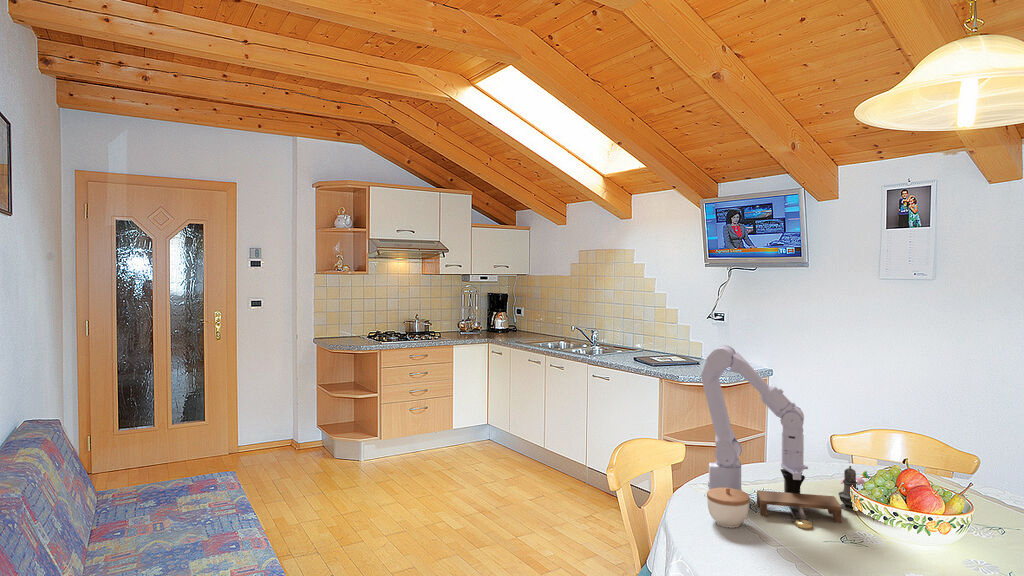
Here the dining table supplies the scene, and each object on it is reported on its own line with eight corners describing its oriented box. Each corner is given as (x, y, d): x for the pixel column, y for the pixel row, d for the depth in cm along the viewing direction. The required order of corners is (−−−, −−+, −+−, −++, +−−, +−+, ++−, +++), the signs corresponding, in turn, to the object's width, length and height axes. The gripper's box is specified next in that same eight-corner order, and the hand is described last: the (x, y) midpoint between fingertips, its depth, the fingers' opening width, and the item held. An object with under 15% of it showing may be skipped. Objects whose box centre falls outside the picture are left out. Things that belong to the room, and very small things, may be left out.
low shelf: (760, 516, 168) (760, 500, 168) (756, 505, 176) (756, 490, 176) (841, 523, 163) (841, 506, 163) (833, 511, 171) (834, 496, 171)
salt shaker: (866, 511, 171) (866, 468, 170) (844, 512, 171) (845, 469, 170) (854, 503, 177) (855, 462, 176) (834, 504, 177) (834, 462, 176)
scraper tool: (791, 522, 164) (791, 496, 164) (782, 501, 179) (782, 477, 179) (812, 523, 163) (812, 497, 163) (801, 503, 177) (801, 478, 177)
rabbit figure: (868, 487, 193) (833, 486, 188) (870, 468, 194) (835, 466, 188) (886, 494, 188) (851, 493, 182) (889, 474, 188) (853, 473, 182)
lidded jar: (753, 533, 158) (753, 496, 157) (709, 529, 160) (709, 493, 160) (745, 516, 168) (745, 482, 168) (704, 514, 170) (704, 480, 170)
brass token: (797, 529, 160) (797, 525, 160) (793, 523, 164) (794, 519, 164) (814, 531, 159) (814, 526, 159) (810, 524, 163) (810, 520, 163)
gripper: (813, 458, 169) (813, 507, 169) (802, 443, 183) (802, 489, 183) (785, 456, 171) (785, 505, 171) (776, 442, 185) (776, 487, 185)
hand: (792, 496), depth 177 cm, fingers closed on scraper tool
